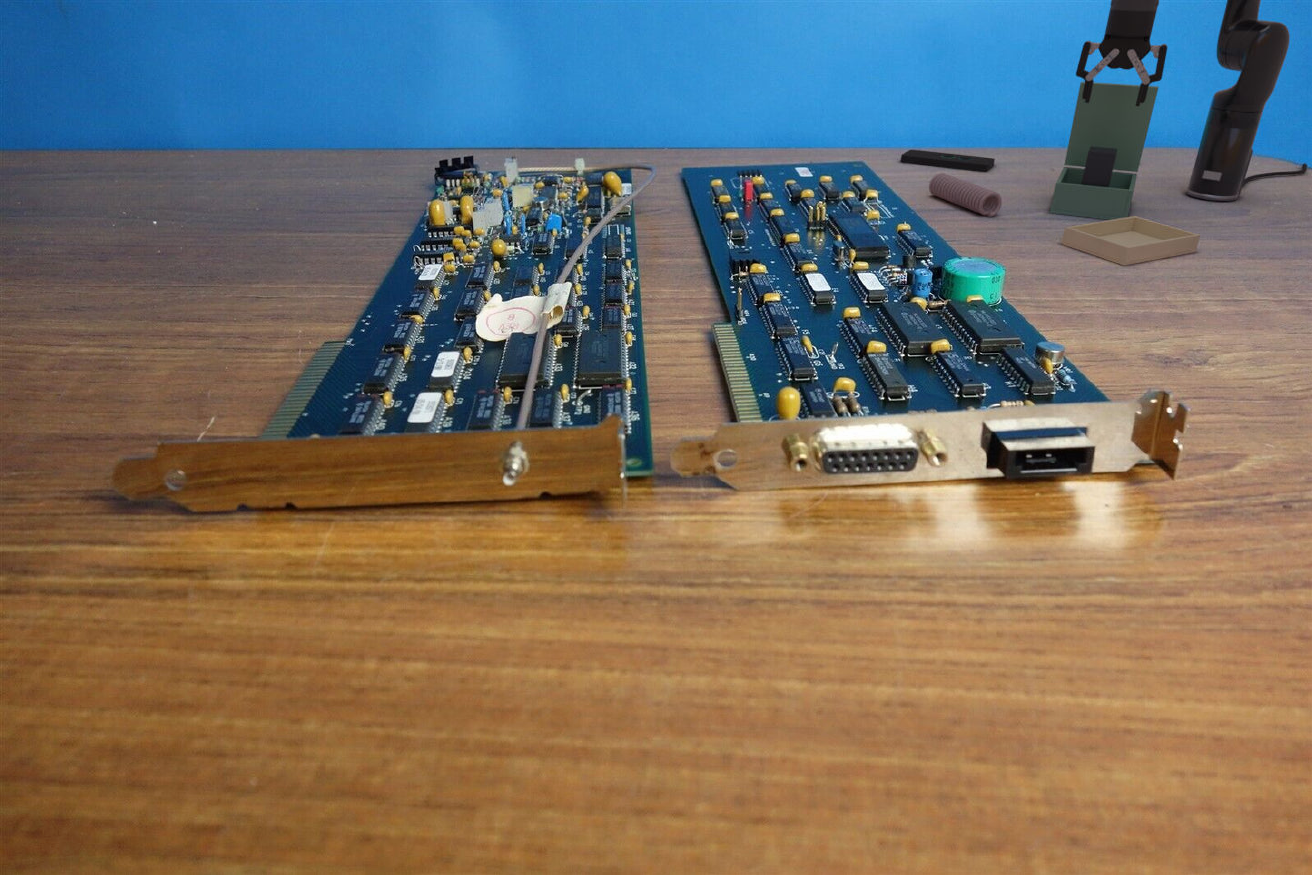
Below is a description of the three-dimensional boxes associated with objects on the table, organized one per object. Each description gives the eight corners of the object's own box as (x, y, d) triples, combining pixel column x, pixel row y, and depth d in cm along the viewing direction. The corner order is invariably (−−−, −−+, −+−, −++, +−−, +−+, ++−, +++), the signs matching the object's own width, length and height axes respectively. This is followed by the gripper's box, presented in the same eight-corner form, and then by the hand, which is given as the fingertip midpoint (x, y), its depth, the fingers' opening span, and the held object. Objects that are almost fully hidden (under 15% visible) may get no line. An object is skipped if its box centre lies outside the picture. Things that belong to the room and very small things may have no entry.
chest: (1126, 221, 175) (1133, 190, 173) (1049, 213, 181) (1055, 183, 178) (1129, 202, 188) (1137, 173, 185) (1058, 195, 193) (1064, 166, 190)
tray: (1130, 232, 169) (1135, 215, 168) (1195, 252, 159) (1200, 234, 158) (1061, 244, 163) (1065, 227, 161) (1124, 265, 152) (1128, 247, 151)
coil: (1006, 193, 177) (949, 172, 191) (986, 192, 175) (930, 171, 190) (999, 217, 179) (943, 195, 194) (980, 217, 177) (925, 194, 192)
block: (1102, 212, 178) (1116, 153, 173) (1075, 209, 180) (1088, 151, 175) (1104, 206, 182) (1117, 148, 177) (1077, 203, 184) (1090, 146, 179)
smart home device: (987, 164, 210) (900, 154, 219) (986, 172, 211) (899, 162, 220) (995, 157, 217) (910, 148, 225) (994, 165, 217) (909, 156, 226)
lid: (1158, 87, 175) (1160, 79, 178) (1080, 83, 180) (1083, 75, 183) (1137, 172, 184) (1139, 163, 188) (1064, 165, 190) (1067, 156, 193)
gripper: (1178, 7, 164) (1155, 104, 172) (1091, 4, 169) (1072, 98, 177) (1178, 10, 158) (1154, 110, 166) (1088, 7, 164) (1068, 104, 171)
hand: (1111, 104), depth 172 cm, fingers open, 8 cm apart
